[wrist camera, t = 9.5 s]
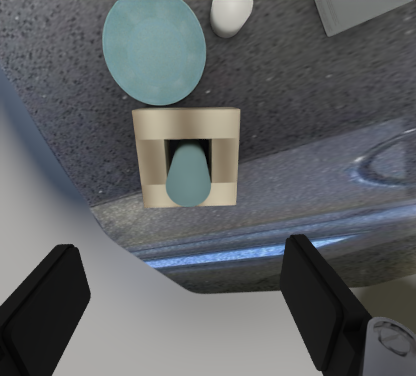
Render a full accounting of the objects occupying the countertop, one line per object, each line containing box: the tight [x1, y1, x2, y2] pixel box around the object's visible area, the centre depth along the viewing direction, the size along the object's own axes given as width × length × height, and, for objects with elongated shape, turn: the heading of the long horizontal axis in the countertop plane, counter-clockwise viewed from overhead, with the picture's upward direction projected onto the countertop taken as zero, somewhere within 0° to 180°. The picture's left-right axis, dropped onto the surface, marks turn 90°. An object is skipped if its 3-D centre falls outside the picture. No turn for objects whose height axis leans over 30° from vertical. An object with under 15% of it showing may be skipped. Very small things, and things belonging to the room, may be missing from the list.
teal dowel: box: [166, 139, 211, 207], centre depth 26 cm, size 4×4×14 cm
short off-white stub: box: [210, 0, 253, 38], centre depth 25 cm, size 4×4×5 cm
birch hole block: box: [132, 107, 240, 208], centre depth 30 cm, size 12×12×6 cm
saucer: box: [102, 0, 206, 105], centre depth 27 cm, size 12×12×2 cm
